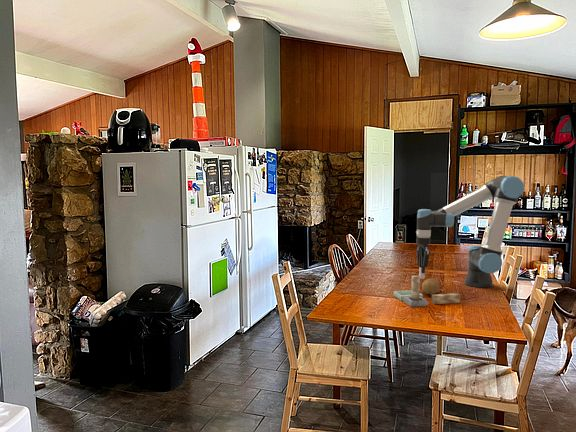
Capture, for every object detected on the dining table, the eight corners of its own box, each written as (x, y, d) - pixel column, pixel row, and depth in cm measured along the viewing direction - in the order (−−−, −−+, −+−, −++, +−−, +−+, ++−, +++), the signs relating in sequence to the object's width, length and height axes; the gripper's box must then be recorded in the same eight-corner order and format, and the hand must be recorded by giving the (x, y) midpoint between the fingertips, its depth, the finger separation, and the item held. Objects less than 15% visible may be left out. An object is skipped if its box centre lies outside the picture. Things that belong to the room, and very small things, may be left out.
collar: (419, 300, 234) (419, 295, 234) (427, 305, 226) (427, 300, 225) (403, 301, 233) (403, 296, 233) (410, 306, 224) (410, 301, 224)
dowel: (417, 302, 232) (417, 275, 230) (420, 304, 228) (421, 277, 226) (409, 302, 231) (410, 275, 230) (413, 304, 227) (413, 277, 226)
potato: (419, 296, 242) (420, 281, 241) (423, 290, 255) (423, 276, 254) (438, 298, 238) (439, 283, 238) (441, 291, 251) (441, 277, 250)
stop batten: (456, 300, 234) (457, 293, 233) (460, 302, 231) (460, 294, 230) (431, 302, 231) (431, 294, 231) (434, 304, 228) (434, 296, 228)
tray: (414, 294, 246) (414, 290, 246) (422, 299, 236) (422, 294, 236) (393, 295, 244) (393, 291, 244) (401, 300, 234) (401, 296, 234)
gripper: (412, 235, 259) (410, 276, 262) (422, 238, 247) (420, 281, 249) (424, 235, 261) (422, 275, 263) (435, 238, 248) (433, 280, 250)
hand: (421, 278), depth 256 cm, fingers closed
